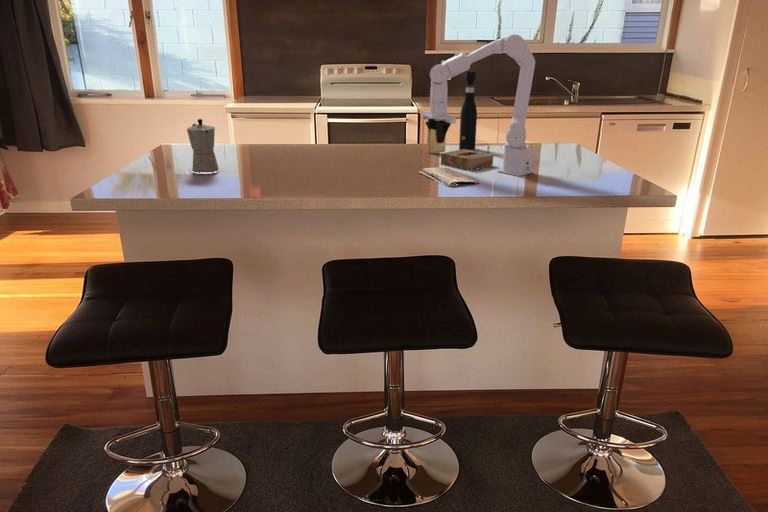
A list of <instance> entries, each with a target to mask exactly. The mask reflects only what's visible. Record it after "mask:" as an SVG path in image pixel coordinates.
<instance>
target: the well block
mask: <svg viewBox="0 0 768 512" xmlns="http://www.w3.org/2000/svg"><path fill="white" fill-rule="evenodd" d="M493 163H494V154H492V153H486V152H482V151H476V150H467V149H461V150H460V149H456V150H452V151H445V152H441V153H440V165H442V166H447V167H451V168H455V167H457V168H456V169H460V168H462V169H461V170H464V169H468V170H471V169H476V170H478V169H477V168H480V169H483V168H482V167H485V168H488V167H487V166H490V167H492V166H491V165H493ZM468 170H467V171H468ZM471 171H472V170H471Z"/></svg>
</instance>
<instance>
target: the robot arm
mask: <svg viewBox="0 0 768 512" xmlns="http://www.w3.org/2000/svg"><path fill="white" fill-rule="evenodd" d="M504 53H505V54H506V55H507V56H508V57H510V58H512V59H514V61H515V62H516V63H517V64H518V66H519V74H518V81H517V87H516V93H515V100H514V105H513V113H512V117H511V124H510V126H509V127H508V129H507V132H506V137H505V139H506V143H504V149H503V150H504V151H503V164H502V165H503V166H502V168H500V169H497V170H496V171H497V172H498V173H499V172H500V173H504V174H509V175H513V176H517V177H522V176H525V175H529V174H533V173H534V170H533V166H534V151H533V149H532V148H528V146H527V143H526V139H527V136H526V135H527V130H526V120H527V115H528V109H529V108H528V107H529V103H530V96H531V90H532V84H533V79H534V78H533V77H534V72H535V68H536V59H535V57H534V55H533V52H532V51H531V48H530V46H529V45H528V42H527V41H526V40H525V39H524V38H523V37H522V35H519V34H510V35H508V36H507V37H502V38H500V39H495V40H493V41H491V42H489V43H487V44H486V45H484V46H482V47H479V48H478V49H476V50H474V51H473V52H470V53H468V54H467V53H463V52H460V53H459V52H457V53H455V54H453V55H454V56H453V57H451V58H448V59H447V60H444V59H443V60H442V61H441V63H440V64H435V65H434V66H432V68H431V69H430V72H429V78H430V80H431V81H430V90H429V91H430V95H429V96H430V99H429V100H430V101H429V113H428V112H423V113H421V119H422V120H427V121H425V124H426V125H425V126H426V127H427V130H428V129H429V132H430V129H435V128H437V134H438V143H444V139H445V136H447V132H448V130H449V128H450V127H451V124H456V122H457V121H456V119H457V117H456V116H452V115H448V91H449V90H448V89H449V88H448V79H449V78H452V79H453V78H454V77H456V76H458V75H460V74H462V73H464V72H467V71H468V70H469V69H470V67H471V65H472V64H473V63H475V62H478V61H479V60H482V59H484V58H487V57H489V56H491V55H493V54H498V55H499V54H501V55H502V54H504Z"/></svg>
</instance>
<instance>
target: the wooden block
mask: <svg viewBox="0 0 768 512" xmlns="http://www.w3.org/2000/svg"><path fill="white" fill-rule="evenodd" d="M446 136H447V135H446ZM446 136H445V139H444V143H438V134H437V128H435V129H430V153H429V154H441V153H445V152H446V139H447V137H446Z"/></svg>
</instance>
